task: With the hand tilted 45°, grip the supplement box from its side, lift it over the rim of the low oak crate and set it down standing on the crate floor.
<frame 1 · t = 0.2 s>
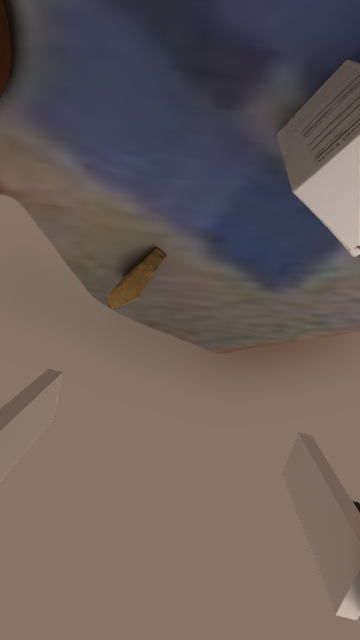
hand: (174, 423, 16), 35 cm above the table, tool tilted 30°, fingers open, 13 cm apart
supplement box: (331, 129, 35), on the table
rock: (146, 269, 53), on the table
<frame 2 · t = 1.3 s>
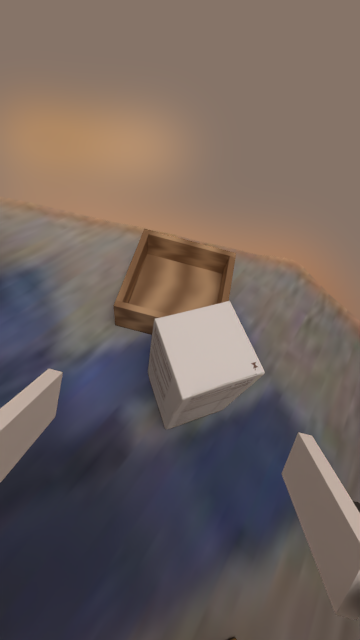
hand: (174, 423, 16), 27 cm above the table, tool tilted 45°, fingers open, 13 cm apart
supplement box: (184, 390, 45), on the table
oak crate: (175, 297, 53), on the table
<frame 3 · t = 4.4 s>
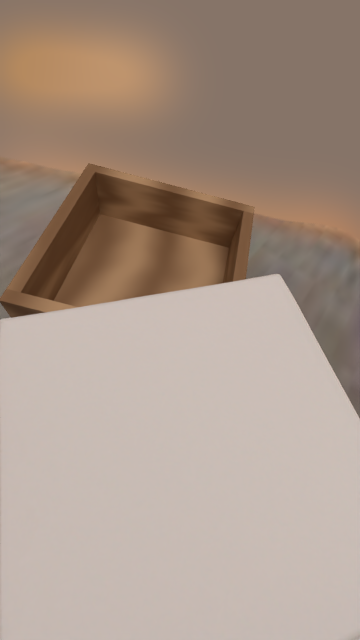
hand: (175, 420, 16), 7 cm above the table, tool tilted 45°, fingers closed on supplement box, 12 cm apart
supplement box: (156, 474, 22), on the table, touching gripper
oak crate: (146, 288, 30), on the table
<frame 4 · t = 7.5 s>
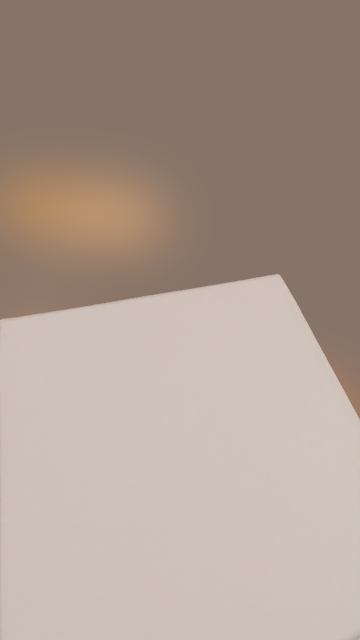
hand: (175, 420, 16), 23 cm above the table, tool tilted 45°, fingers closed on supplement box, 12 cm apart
supplement box: (156, 474, 22), point 16 cm above the table, touching gripper
when the fingers open (10 cm above the table, at t = 10.6 s): supplement box drops 2 cm, resting on oak crate.
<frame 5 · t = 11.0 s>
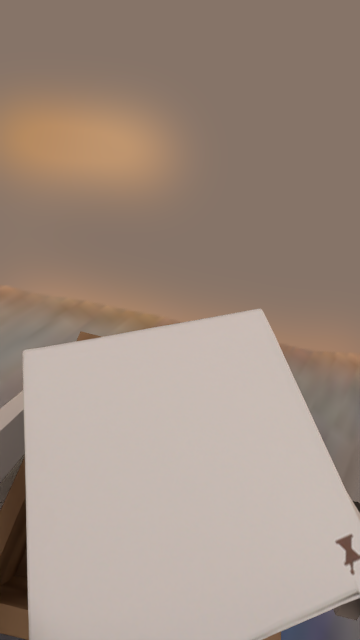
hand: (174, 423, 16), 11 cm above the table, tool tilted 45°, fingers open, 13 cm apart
supplement box: (154, 477, 23), point 1 cm above the table, touching oak crate
oak crate: (152, 478, 24), on the table
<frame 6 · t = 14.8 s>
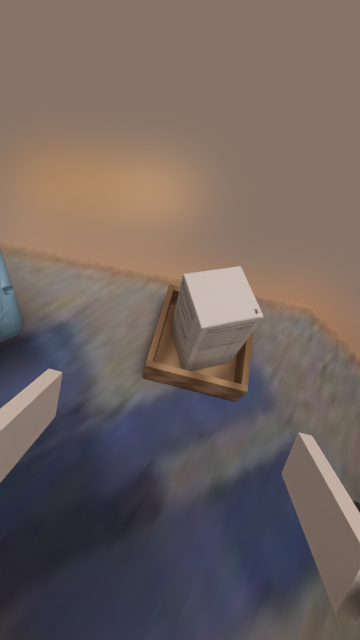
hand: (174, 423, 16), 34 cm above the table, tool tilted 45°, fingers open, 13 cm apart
supplement box: (199, 346, 55), point 1 cm above the table, touching oak crate
oak crate: (198, 348, 56), on the table
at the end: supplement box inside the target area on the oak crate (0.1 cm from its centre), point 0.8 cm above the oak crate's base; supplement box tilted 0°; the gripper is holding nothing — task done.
